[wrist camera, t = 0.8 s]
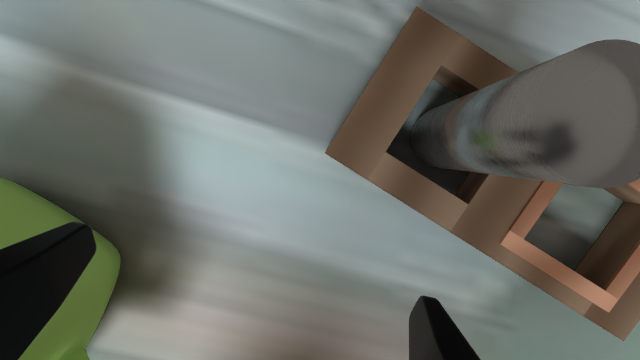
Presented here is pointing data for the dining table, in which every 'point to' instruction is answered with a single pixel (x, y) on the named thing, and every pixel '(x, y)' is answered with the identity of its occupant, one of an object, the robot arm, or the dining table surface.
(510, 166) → the peg
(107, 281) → the teapot
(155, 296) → the dining table surface
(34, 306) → the robot arm
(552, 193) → the brown flat block
